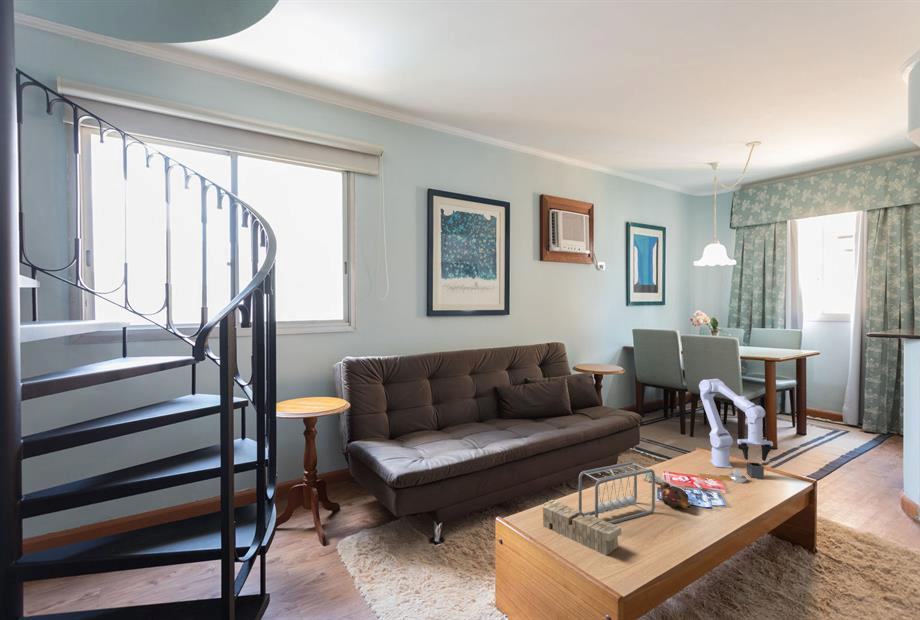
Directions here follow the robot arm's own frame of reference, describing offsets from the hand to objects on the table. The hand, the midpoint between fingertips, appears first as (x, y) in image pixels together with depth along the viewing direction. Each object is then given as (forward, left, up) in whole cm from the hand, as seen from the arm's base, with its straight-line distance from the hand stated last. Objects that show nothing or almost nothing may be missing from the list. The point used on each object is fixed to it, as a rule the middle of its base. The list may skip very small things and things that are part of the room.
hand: (754, 459), depth 213 cm
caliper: (+21, -45, -9) cm, 50 cm away
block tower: (+72, -86, -9) cm, 113 cm away
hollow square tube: (0, 0, -8) cm, 8 cm away
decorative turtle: (+40, -46, -9) cm, 61 cm away
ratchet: (+6, -16, -8) cm, 19 cm away
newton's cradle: (+52, -70, -9) cm, 88 cm away
